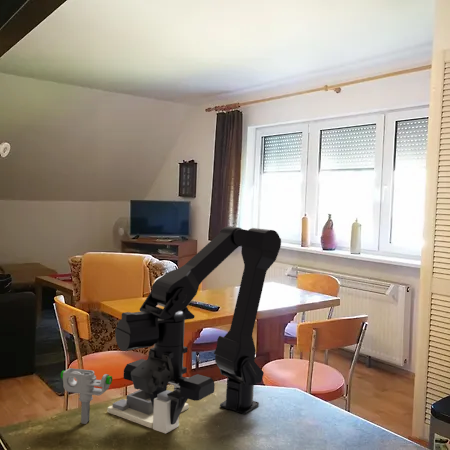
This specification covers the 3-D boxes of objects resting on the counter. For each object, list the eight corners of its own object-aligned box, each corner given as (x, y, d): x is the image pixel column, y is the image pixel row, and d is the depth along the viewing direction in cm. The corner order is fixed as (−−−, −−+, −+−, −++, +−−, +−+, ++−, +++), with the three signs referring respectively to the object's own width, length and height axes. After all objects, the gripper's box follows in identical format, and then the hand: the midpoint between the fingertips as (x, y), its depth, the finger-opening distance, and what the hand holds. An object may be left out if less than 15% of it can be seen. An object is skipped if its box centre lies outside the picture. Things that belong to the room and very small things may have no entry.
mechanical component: (105, 428, 98) (107, 377, 97) (57, 421, 100) (58, 371, 99) (112, 422, 101) (114, 372, 100) (65, 415, 103) (66, 367, 102)
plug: (166, 421, 102) (167, 388, 101) (178, 426, 100) (179, 392, 100) (152, 428, 98) (154, 394, 98) (165, 433, 97) (167, 398, 96)
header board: (146, 394, 115) (146, 379, 115) (188, 408, 109) (189, 392, 109) (107, 412, 105) (107, 395, 105) (151, 428, 99) (152, 410, 98)
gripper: (104, 342, 97) (101, 422, 97) (181, 363, 87) (178, 452, 87) (143, 331, 106) (141, 404, 107) (217, 348, 96) (214, 429, 97)
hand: (166, 421), depth 99 cm, fingers closed on plug, 3 cm apart
